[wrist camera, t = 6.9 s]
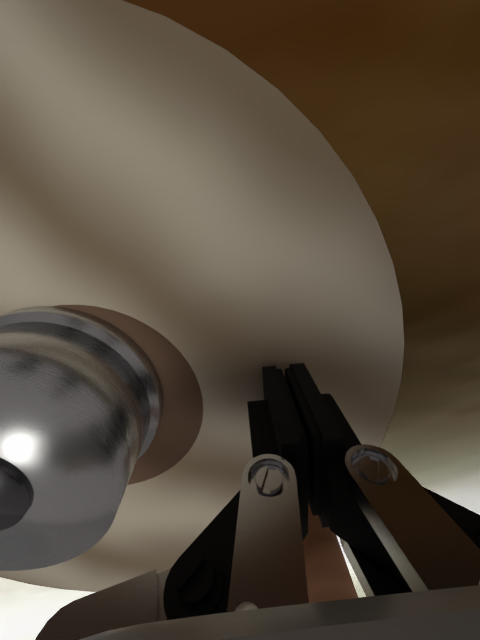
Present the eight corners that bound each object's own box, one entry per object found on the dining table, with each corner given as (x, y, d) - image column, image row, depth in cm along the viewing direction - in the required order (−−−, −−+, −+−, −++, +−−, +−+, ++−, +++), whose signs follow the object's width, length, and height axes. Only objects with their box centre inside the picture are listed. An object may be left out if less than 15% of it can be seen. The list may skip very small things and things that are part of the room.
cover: (21, 261, 9) (-152, 291, 5) (200, 383, 11) (184, 478, 7) (-67, 407, 10) (-249, 519, 6) (101, 489, 12) (42, 615, 8)
